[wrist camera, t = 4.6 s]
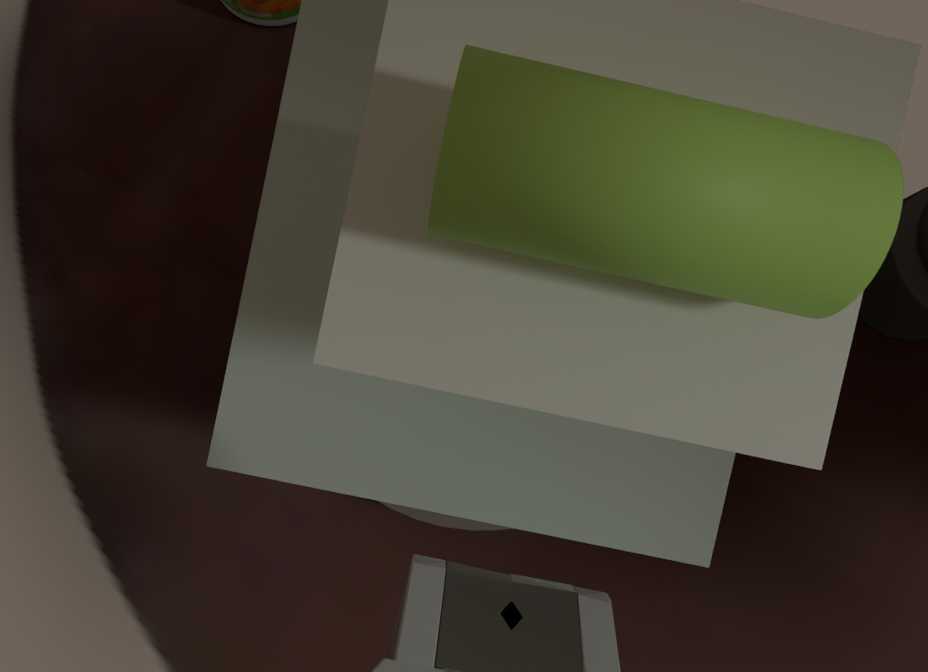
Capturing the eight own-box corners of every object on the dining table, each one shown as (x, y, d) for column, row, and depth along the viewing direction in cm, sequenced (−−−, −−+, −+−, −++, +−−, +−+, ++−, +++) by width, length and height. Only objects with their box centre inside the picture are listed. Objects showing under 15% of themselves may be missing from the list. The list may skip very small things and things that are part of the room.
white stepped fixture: (688, 547, 19) (1235, 1074, 6) (225, 453, 19) (-308, 804, 5) (794, 86, 19) (1637, -452, 6) (323, -25, 18) (5, -922, 5)
